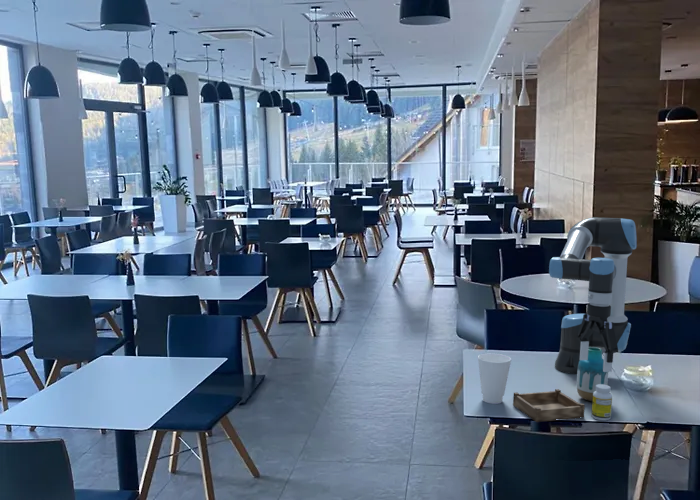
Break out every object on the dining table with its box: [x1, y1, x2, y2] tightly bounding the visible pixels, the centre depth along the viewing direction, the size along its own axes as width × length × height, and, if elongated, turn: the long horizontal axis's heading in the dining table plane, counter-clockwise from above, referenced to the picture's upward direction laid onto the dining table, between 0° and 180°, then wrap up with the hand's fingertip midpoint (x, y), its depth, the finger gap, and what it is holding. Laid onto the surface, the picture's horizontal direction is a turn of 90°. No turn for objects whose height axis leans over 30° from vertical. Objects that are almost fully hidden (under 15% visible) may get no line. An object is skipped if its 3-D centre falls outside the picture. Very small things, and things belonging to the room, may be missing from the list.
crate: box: [512, 388, 586, 423], centre depth 231 cm, size 18×16×5 cm
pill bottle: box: [591, 384, 613, 422], centre depth 226 cm, size 6×6×11 cm
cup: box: [477, 352, 512, 405], centre depth 240 cm, size 12×12×16 cm
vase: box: [576, 347, 609, 402], centre depth 243 cm, size 11×11×19 cm
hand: (595, 365), depth 226 cm, fingers open, 13 cm apart
